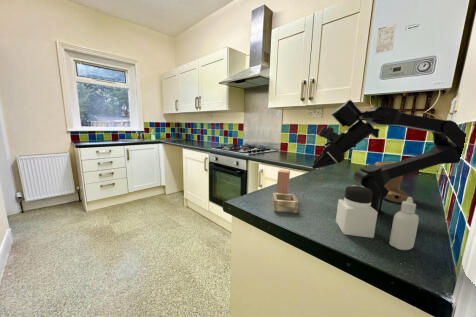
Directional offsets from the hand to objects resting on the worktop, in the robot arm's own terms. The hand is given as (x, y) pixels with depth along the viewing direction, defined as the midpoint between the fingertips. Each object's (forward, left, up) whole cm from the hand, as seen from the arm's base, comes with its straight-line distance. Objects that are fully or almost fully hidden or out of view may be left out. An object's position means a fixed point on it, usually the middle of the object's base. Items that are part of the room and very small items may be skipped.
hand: (313, 165), depth 69 cm
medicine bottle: (-6, +19, -14) cm, 25 cm away
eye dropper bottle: (-14, +25, -14) cm, 32 cm away
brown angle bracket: (-34, -11, -14) cm, 38 cm away
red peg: (+10, -4, -14) cm, 17 cm away
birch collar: (+11, +7, -14) cm, 19 cm away
